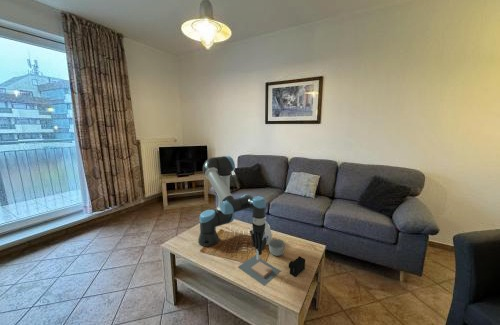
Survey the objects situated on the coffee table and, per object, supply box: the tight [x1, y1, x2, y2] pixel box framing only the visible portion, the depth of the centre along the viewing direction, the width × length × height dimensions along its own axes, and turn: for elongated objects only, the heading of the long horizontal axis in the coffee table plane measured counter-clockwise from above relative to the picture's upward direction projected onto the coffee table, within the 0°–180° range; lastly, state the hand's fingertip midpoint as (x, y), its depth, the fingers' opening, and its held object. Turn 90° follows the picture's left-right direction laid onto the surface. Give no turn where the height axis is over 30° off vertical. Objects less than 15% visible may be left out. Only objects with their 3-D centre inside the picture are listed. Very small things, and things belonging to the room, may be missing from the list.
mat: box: [237, 255, 282, 286], centre depth 128 cm, size 22×16×1 cm
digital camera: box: [288, 256, 306, 278], centre depth 127 cm, size 10×5×7 cm, turn 135°
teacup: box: [268, 237, 285, 257], centre depth 145 cm, size 14×11×8 cm
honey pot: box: [262, 216, 273, 246], centre depth 159 cm, size 13×13×18 cm
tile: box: [251, 262, 272, 278], centre depth 127 cm, size 2×8×10 cm
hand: (258, 258), depth 127 cm, fingers closed
